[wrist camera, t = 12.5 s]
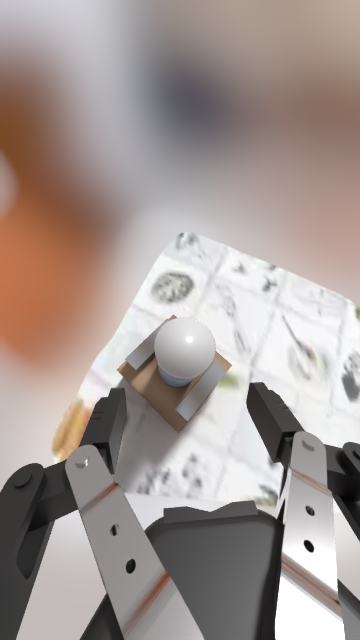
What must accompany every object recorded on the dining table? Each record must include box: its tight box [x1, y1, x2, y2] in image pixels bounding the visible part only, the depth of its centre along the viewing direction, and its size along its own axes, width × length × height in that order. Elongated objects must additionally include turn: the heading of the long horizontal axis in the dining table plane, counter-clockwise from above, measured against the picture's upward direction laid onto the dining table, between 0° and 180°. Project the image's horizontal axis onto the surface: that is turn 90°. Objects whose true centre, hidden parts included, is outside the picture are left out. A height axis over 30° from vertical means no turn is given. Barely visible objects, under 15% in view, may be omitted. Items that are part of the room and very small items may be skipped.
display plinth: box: [117, 315, 232, 433], centre depth 26 cm, size 10×10×6 cm
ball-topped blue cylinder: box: [154, 317, 216, 388], centre depth 20 cm, size 5×5×10 cm
